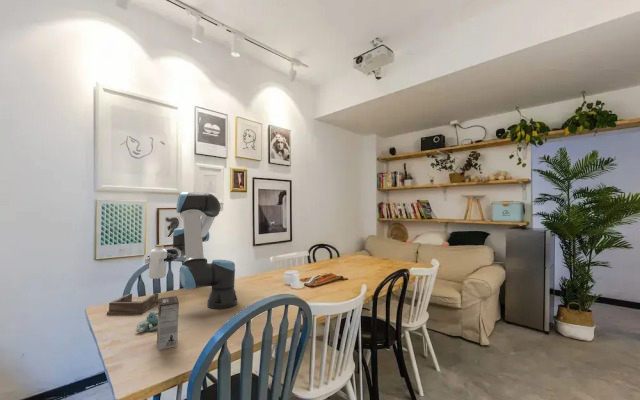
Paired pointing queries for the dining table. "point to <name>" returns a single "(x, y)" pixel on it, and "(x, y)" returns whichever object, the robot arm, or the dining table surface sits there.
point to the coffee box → (167, 322)
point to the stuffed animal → (149, 322)
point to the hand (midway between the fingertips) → (152, 260)
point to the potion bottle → (154, 268)
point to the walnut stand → (132, 305)
